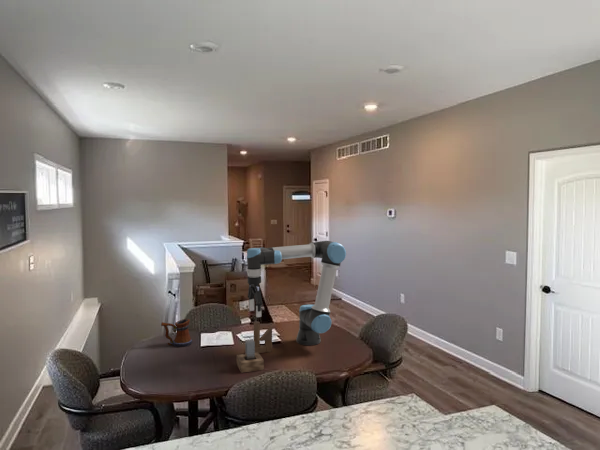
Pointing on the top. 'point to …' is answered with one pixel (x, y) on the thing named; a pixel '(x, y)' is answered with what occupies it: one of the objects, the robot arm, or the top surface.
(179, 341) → the mug
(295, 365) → the top surface
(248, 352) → the peg
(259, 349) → the brown braced frame
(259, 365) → the socket block
